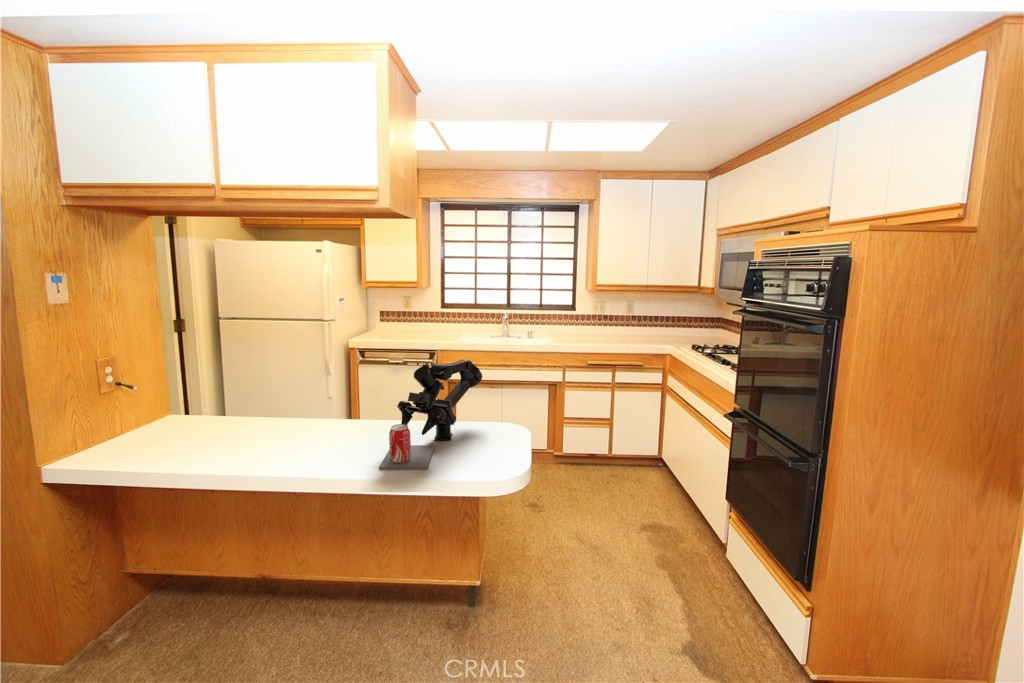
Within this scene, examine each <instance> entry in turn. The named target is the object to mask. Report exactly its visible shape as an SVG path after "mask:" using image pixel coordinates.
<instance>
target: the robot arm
mask: <svg viewBox="0 0 1024 683" xmlns="http://www.w3.org/2000/svg"><path fill="white" fill-rule="evenodd" d="M457 373H458V374H459V375H460V380H459V382H458V383H457V384H456V385H455V386H454V387H453V388H452V389H451V391H450V392H449V393H448V394H447V395H446V396H445V397H444V399H440V398H438V396H439V393H440V391H441V390H443V391H444V390H445V386H444V383H443V382H441V381H448V380H449V379H451V378H452V376H453V375H454V374H457ZM413 378H414V380H415V381H416V382H417V383H418V384H419V385H420V386H421V387H422V388H423V390H422V391H420V392H418V393H417V392H416V393H415V392H411V391H409V394H408V398H407V401H405V400H400V401H399V402H398V403H397V406H396V407H397V408H398V410H399V412H400V413H401V421H400V424H405V425H407V426H408V424H409V423H410V421H411V419H412V418H413V414H414V413H418V414H424V415H427V419H426V421H425V424H424V426H423V429H422V431H421V435H422V436H424V435H426V433H428V432H429V431H430V430H432V428H434V427H435V436H434V438H433V441H451V440H452V439H453V438H452V437H453V433H452V429H451V427H452V426H453V425H455V423H456V421H457V417H456V415H455V414H454V408H455V406H456V405H457V404H458V403H459V402H460V401H461V399H462V398H463V397H464V395H465V394H466V393H467V392H468V391H469V389H470V388H472V387H475V386H477V385H478V384H479V383H480V382H481V381H482V380H483V373H482V372H481V370H480V368H478V366H476V365H475V364H473V362H472V361H471V360H469V359H459V360H457V361H456V360H455V361H454V362H451V363H446V364H444V363H443V364H442V363H441V364H440V363H439V364H438V363H434V364H432V365H431V367H430V366H429V365H428V364H422V366H419V368H417V369H416V370H415V371H414V372H413ZM411 402H412V403H411Z"/></svg>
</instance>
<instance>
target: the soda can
mask: <svg viewBox="0 0 1024 683" xmlns="http://www.w3.org/2000/svg"><path fill="white" fill-rule="evenodd" d="M388 434H389V436H388V438H389V439H388V440H389V441H388V442H389V449H390V459H391V461H393V462H395V463H404V462H407V461H408V460H409V459H410V457H411V445H412V444H411V441H412V440H411V430H410V428H409V425H408V424H407V425H405V424H401V423H400V424H393V425H392V426H391V427H390V431H389V433H388Z"/></svg>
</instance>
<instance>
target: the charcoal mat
mask: <svg viewBox="0 0 1024 683" xmlns="http://www.w3.org/2000/svg"><path fill="white" fill-rule="evenodd" d="M435 449H436V445H435V444H434V445H433V444H432V445H431V444H428V445H427V444H426V445H424V444H423V445H421V444H420V445H419V444H416V445H414V444H413V445H412V444H411V457H410V459H409V460H408V461H407V462H404V463H395V462H393V461H391V459H390V448H389V449H388V451H387V453H386V454H385V456H384V458H383V460H381V463H380V464H379V467H378V469H379V470H380V471H382V470H383V471H384V470H387V471H389V470H390V471H391V470H395V471H397V470H399V471H401V470H404V471H405V470H406V471H408V470H413V471H416V470H421V471H422V470H423V471H424V470H426V471H427V470H428V468H429V466H430V462H431V460H432V457H433V454H434V451H435Z"/></svg>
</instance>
